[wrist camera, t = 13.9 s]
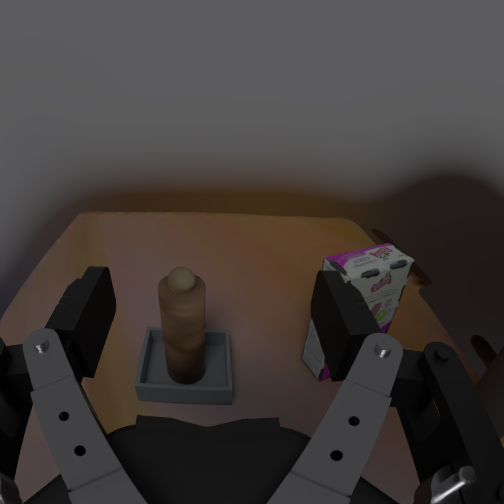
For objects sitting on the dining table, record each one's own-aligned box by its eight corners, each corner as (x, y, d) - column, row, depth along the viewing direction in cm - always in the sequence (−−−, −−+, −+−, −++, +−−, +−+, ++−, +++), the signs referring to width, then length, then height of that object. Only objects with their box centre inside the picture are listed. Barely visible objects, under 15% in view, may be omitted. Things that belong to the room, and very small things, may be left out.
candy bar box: (357, 335, 46) (389, 241, 38) (377, 355, 42) (417, 259, 35) (297, 358, 42) (323, 254, 34) (317, 383, 38) (352, 278, 30)
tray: (228, 345, 43) (229, 330, 41) (231, 404, 34) (232, 390, 33) (149, 342, 41) (147, 327, 40) (139, 400, 33) (134, 385, 31)
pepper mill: (205, 356, 40) (206, 257, 33) (205, 385, 36) (205, 284, 28) (169, 355, 39) (160, 255, 32) (165, 383, 35) (152, 282, 28)
